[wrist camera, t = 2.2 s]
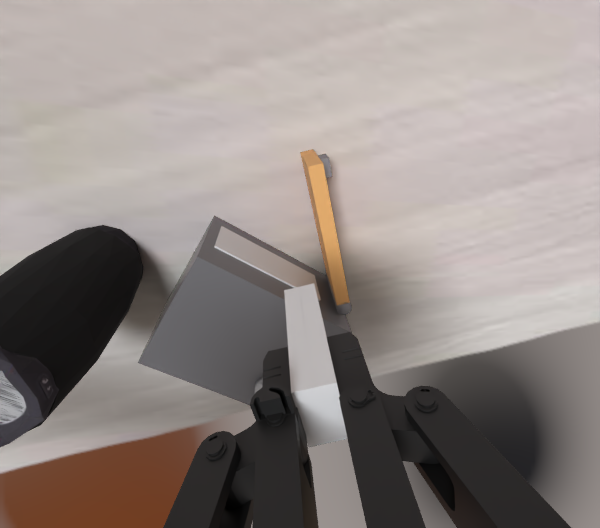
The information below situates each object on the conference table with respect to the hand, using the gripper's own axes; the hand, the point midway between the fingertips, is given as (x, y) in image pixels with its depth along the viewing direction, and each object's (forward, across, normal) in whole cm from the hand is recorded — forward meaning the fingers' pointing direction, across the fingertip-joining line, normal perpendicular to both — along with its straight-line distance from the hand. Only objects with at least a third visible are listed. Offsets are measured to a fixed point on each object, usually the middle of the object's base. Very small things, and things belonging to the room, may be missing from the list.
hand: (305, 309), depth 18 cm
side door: (+20, +3, -3) cm, 20 cm away
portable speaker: (+21, -20, -2) cm, 29 cm away
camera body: (+21, -6, -11) cm, 24 cm away
